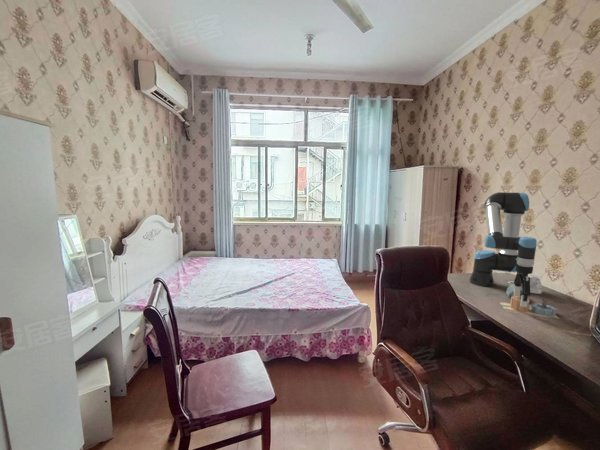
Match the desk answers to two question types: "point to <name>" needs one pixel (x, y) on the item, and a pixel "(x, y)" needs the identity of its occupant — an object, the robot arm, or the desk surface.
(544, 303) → the gear board
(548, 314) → the gear
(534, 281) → the figurine
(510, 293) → the spool
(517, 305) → the loose gear
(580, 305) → the desk surface
